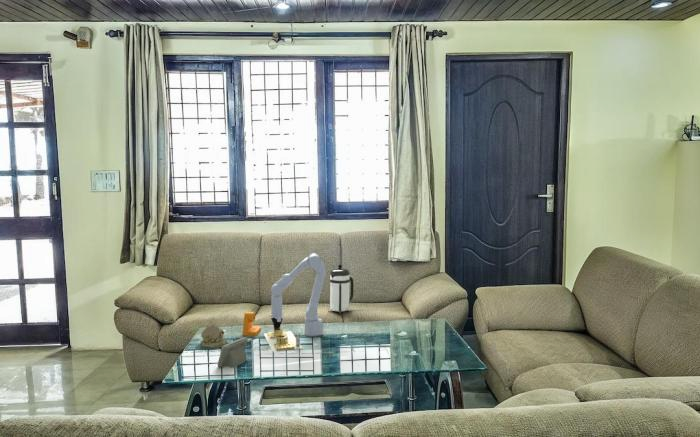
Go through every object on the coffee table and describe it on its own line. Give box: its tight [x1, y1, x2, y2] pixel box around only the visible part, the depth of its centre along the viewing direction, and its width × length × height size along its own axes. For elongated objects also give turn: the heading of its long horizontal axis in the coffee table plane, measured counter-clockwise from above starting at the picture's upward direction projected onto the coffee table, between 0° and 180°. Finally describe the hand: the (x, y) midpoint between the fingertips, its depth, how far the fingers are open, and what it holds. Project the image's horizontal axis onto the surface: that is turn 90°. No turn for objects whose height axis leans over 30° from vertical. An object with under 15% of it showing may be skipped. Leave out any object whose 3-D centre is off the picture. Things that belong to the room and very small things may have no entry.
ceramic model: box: [199, 324, 228, 348], centre depth 263 cm, size 14×11×10 cm
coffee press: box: [327, 264, 354, 316], centre depth 324 cm, size 17×16×30 cm
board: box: [263, 330, 303, 352], centre depth 267 cm, size 15×28×1 cm, turn 18°
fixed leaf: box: [274, 335, 296, 352], centre depth 259 cm, size 9×13×4 cm
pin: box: [294, 333, 301, 347], centre depth 259 cm, size 2×2×6 cm
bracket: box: [242, 311, 262, 337], centre depth 279 cm, size 11×7×12 cm, turn 174°
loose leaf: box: [267, 327, 287, 338], centre depth 275 cm, size 9×8×4 cm
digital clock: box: [217, 336, 249, 369], centre depth 237 cm, size 16×9×11 cm, turn 139°
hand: (276, 331), depth 276 cm, fingers closed
